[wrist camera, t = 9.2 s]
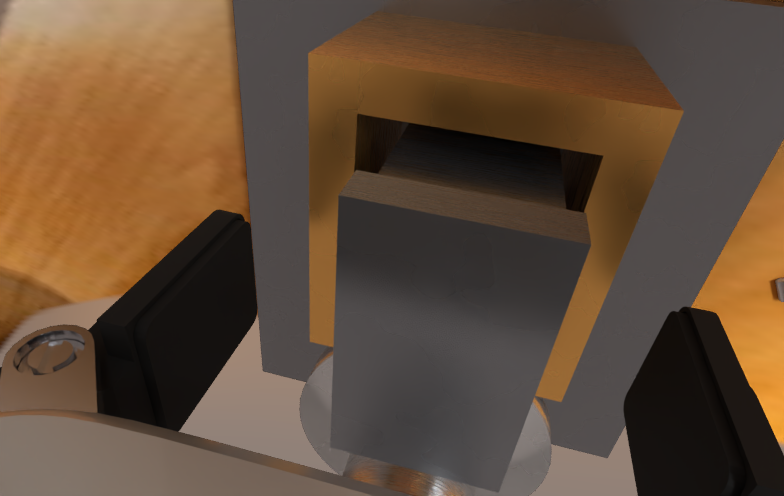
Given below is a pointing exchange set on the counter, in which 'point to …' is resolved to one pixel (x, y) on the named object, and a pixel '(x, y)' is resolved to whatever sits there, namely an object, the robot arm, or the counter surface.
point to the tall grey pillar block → (450, 300)
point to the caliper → (780, 288)
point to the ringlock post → (519, 123)
